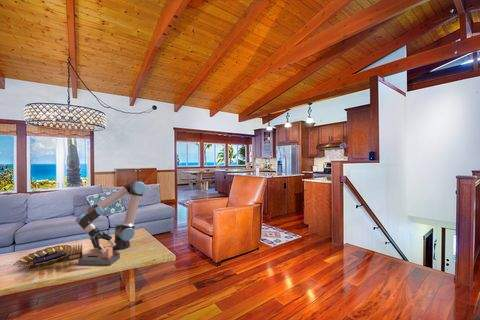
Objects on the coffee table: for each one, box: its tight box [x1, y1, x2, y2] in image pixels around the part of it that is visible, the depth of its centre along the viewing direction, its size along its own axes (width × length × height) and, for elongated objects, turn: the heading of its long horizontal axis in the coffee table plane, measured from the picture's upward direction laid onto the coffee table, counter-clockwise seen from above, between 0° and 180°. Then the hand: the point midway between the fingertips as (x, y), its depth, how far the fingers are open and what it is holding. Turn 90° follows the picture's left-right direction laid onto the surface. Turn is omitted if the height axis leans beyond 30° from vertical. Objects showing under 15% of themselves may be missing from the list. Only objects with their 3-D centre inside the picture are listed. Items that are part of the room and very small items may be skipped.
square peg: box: [103, 246, 114, 258], centre depth 180 cm, size 5×5×11 cm
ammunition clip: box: [66, 243, 83, 262], centre depth 185 cm, size 11×2×12 cm, turn 128°
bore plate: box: [77, 252, 121, 266], centre depth 180 cm, size 13×26×4 cm, turn 89°
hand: (109, 248), depth 180 cm, fingers open, 13 cm apart
